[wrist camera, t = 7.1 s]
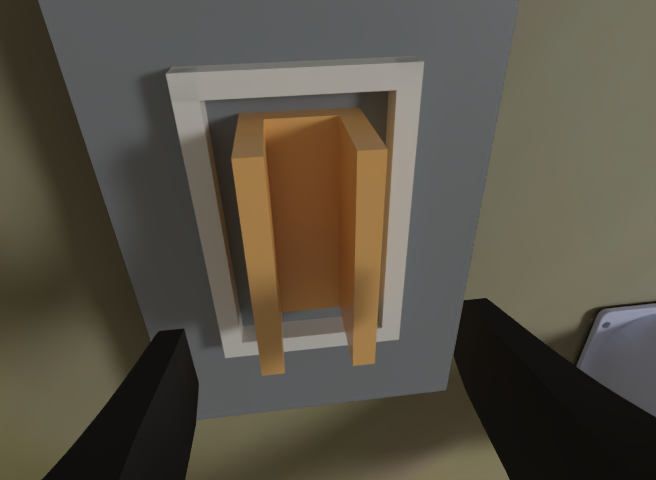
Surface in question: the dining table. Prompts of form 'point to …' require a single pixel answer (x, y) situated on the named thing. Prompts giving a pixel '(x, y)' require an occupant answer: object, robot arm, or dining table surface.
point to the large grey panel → (218, 180)
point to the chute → (311, 221)
